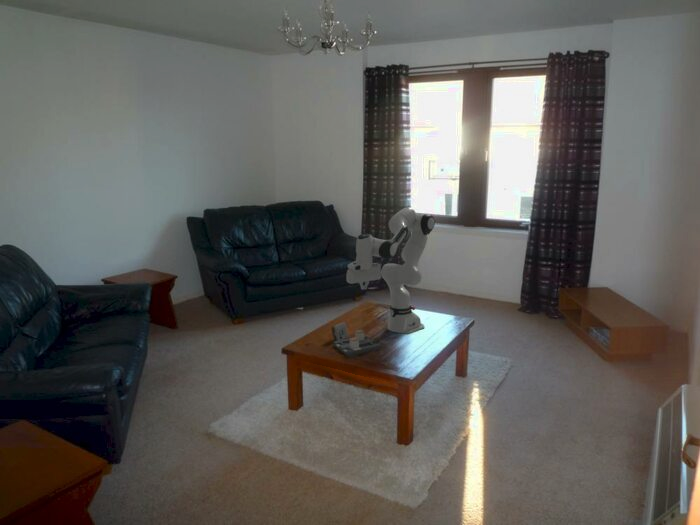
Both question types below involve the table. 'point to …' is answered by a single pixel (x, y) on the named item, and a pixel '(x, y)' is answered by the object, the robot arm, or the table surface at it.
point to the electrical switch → (340, 332)
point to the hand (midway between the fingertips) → (363, 289)
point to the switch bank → (364, 347)
